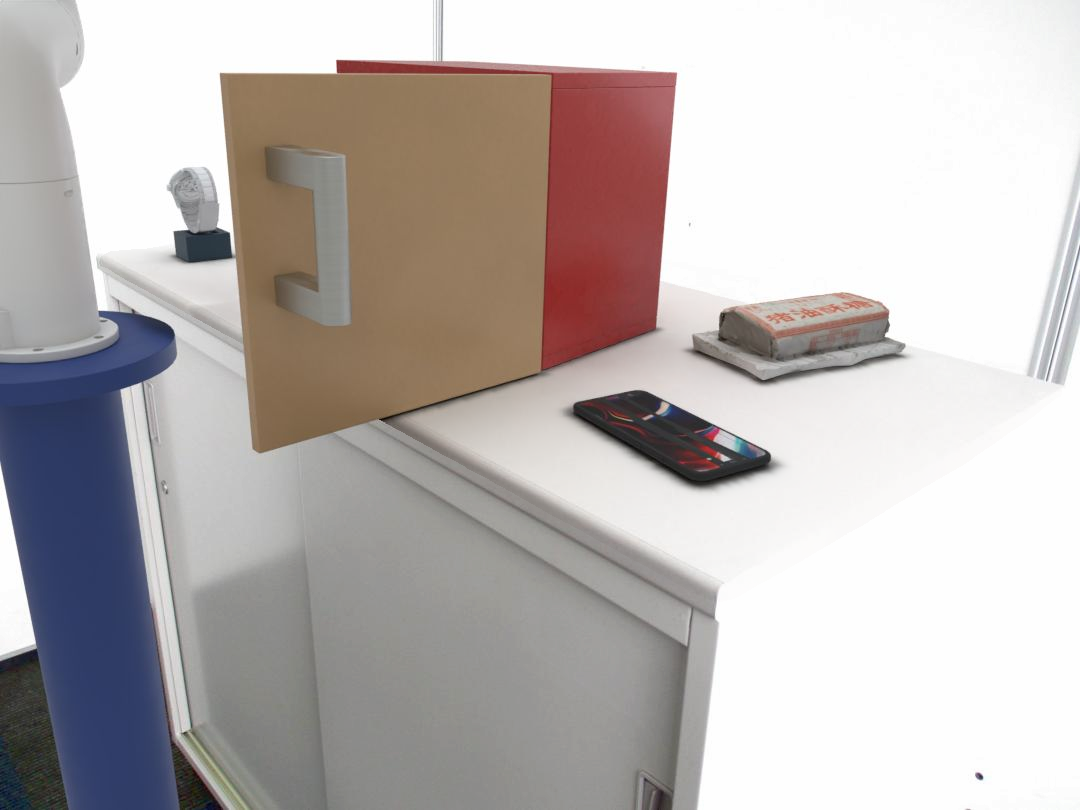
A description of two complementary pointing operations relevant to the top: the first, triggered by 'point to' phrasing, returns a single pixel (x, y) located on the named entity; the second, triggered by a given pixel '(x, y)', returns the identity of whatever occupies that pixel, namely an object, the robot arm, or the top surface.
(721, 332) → the packaged product
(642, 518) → the top surface
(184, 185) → the watch
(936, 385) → the top surface
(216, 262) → the top surface
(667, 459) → the smartphone
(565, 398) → the top surface
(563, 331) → the cabinet
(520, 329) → the cabinet door
